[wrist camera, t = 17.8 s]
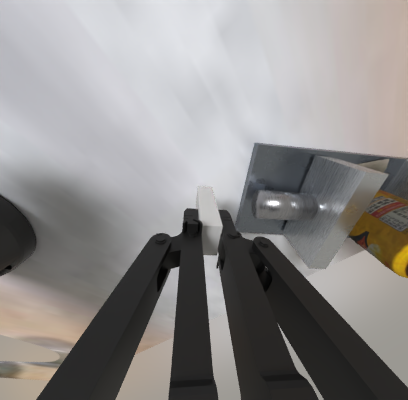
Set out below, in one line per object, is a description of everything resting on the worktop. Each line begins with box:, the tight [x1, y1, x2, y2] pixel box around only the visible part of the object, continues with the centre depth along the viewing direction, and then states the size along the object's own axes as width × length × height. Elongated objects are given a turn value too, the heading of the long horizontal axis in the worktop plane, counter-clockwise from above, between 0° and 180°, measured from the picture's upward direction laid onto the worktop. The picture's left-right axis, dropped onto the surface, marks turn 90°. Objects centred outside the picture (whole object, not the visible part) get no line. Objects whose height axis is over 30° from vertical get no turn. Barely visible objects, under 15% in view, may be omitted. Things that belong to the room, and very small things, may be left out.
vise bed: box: [235, 143, 408, 238], centre depth 19 cm, size 20×12×7 cm, turn 84°
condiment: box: [348, 159, 408, 278], centre depth 15 cm, size 7×8×12 cm
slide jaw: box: [251, 155, 389, 269], centre depth 17 cm, size 8×11×6 cm
